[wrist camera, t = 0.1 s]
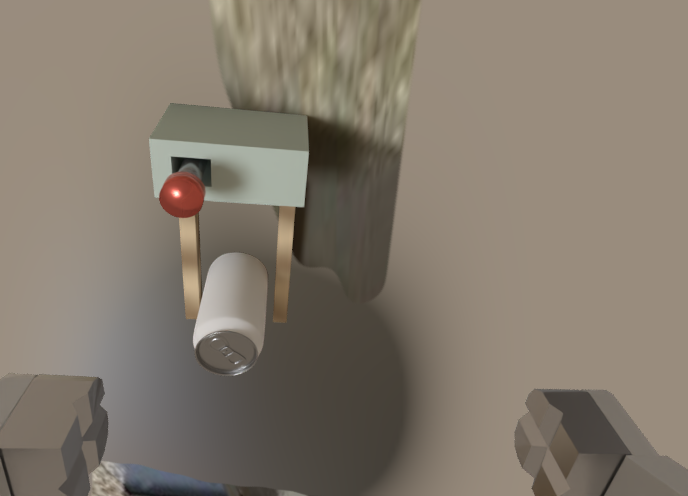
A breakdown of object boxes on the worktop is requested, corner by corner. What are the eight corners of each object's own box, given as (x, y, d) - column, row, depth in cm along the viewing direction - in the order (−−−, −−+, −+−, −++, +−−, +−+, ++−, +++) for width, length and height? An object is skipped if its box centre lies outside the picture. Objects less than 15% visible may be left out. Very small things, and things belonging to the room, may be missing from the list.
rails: (180, 170, 49) (176, 180, 47) (296, 179, 50) (296, 188, 48) (189, 306, 58) (185, 318, 56) (286, 310, 59) (286, 322, 58)
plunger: (177, 137, 42) (157, 179, 35) (215, 140, 42) (201, 182, 36) (180, 171, 43) (160, 216, 37) (216, 173, 44) (203, 219, 37)
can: (242, 239, 53) (229, 316, 44) (280, 278, 57) (277, 358, 47) (195, 269, 55) (173, 350, 45) (235, 305, 58) (223, 388, 49)
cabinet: (170, 103, 45) (148, 138, 38) (307, 115, 46) (308, 151, 40) (174, 155, 48) (154, 197, 41) (302, 165, 49) (304, 207, 43)
